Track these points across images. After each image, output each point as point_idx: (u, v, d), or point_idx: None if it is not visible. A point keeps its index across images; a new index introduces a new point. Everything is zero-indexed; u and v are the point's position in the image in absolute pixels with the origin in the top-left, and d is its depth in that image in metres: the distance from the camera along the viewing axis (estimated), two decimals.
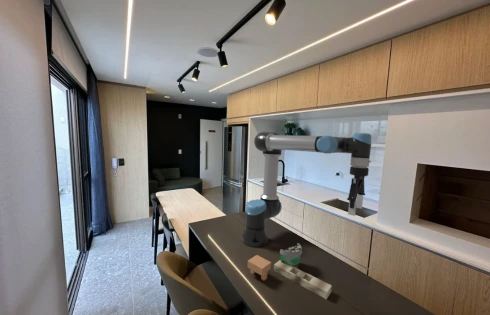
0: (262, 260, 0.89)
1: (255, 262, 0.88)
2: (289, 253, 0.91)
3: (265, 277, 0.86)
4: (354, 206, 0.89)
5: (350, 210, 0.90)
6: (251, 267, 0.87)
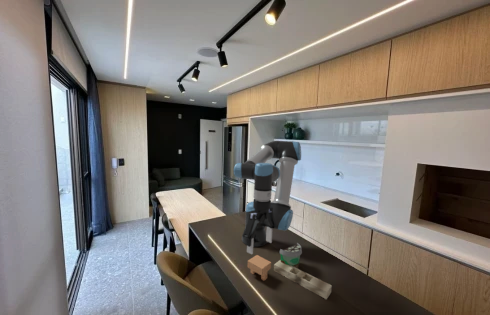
0: (262, 260, 0.89)
1: (255, 262, 0.88)
2: (289, 253, 0.91)
3: (265, 277, 0.86)
4: (251, 244, 0.81)
5: (248, 248, 0.82)
6: (251, 267, 0.87)
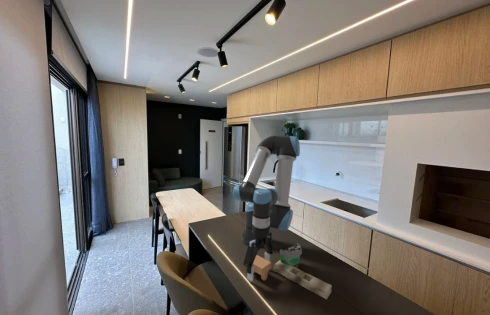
0: (262, 260, 0.89)
1: (255, 262, 0.88)
2: (289, 253, 0.91)
3: (265, 277, 0.86)
4: (251, 271, 0.83)
5: (248, 275, 0.84)
6: None
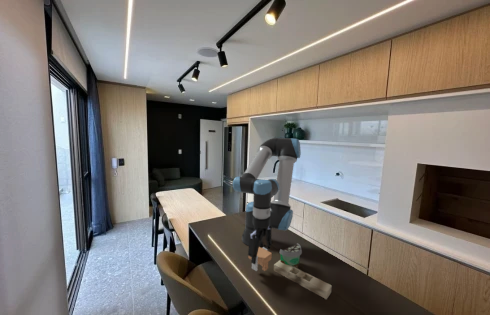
0: (263, 251, 0.89)
1: None
2: (289, 253, 0.91)
3: (266, 268, 0.87)
4: (256, 261, 0.85)
5: (253, 265, 0.86)
6: None
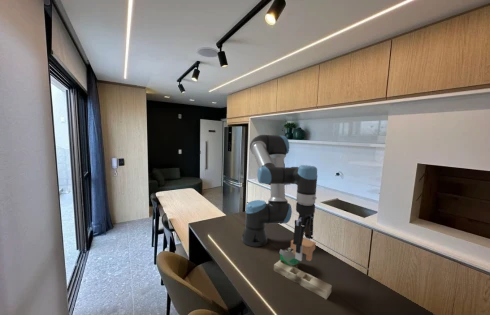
0: (305, 240, 0.86)
1: None
2: (289, 253, 0.91)
3: (310, 257, 0.83)
4: (300, 250, 0.81)
5: (297, 254, 0.82)
6: (295, 247, 0.84)
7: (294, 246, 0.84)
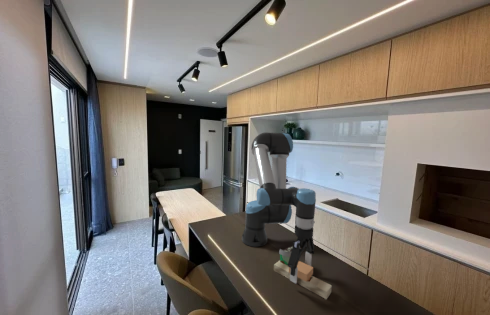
0: (303, 265, 0.87)
1: None
2: (288, 253, 0.91)
3: None
4: (295, 273, 0.80)
5: (292, 276, 0.81)
6: None
7: None
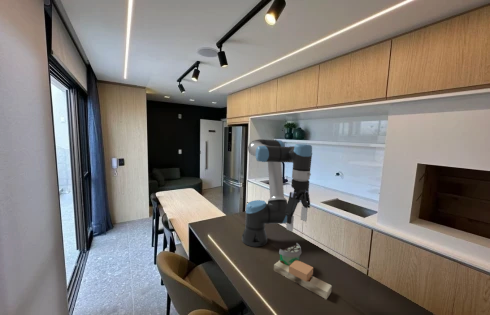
0: (303, 265, 0.87)
1: (297, 267, 0.85)
2: (288, 253, 0.91)
3: None
4: (291, 221, 0.85)
5: (288, 225, 0.86)
6: (293, 272, 0.85)
7: (292, 271, 0.85)
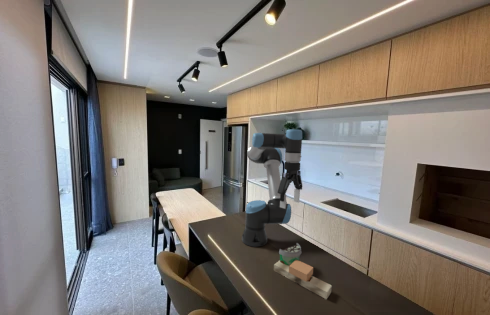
0: (303, 265, 0.87)
1: (297, 267, 0.85)
2: (288, 253, 0.91)
3: None
4: (284, 199, 0.92)
5: (281, 203, 0.93)
6: (293, 272, 0.85)
7: (292, 271, 0.85)
